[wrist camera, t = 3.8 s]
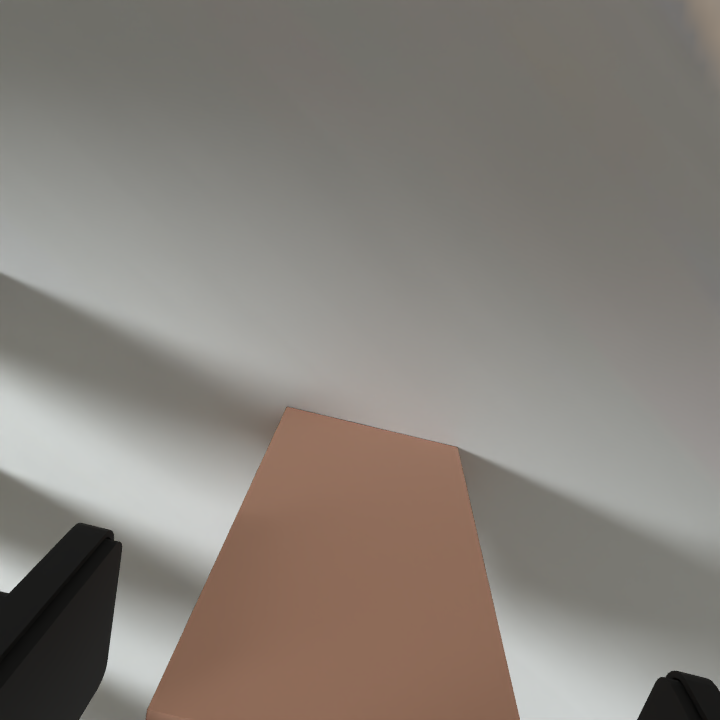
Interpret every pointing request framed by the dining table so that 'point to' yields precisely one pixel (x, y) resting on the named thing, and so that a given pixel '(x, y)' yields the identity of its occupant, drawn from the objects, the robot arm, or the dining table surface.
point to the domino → (344, 590)
